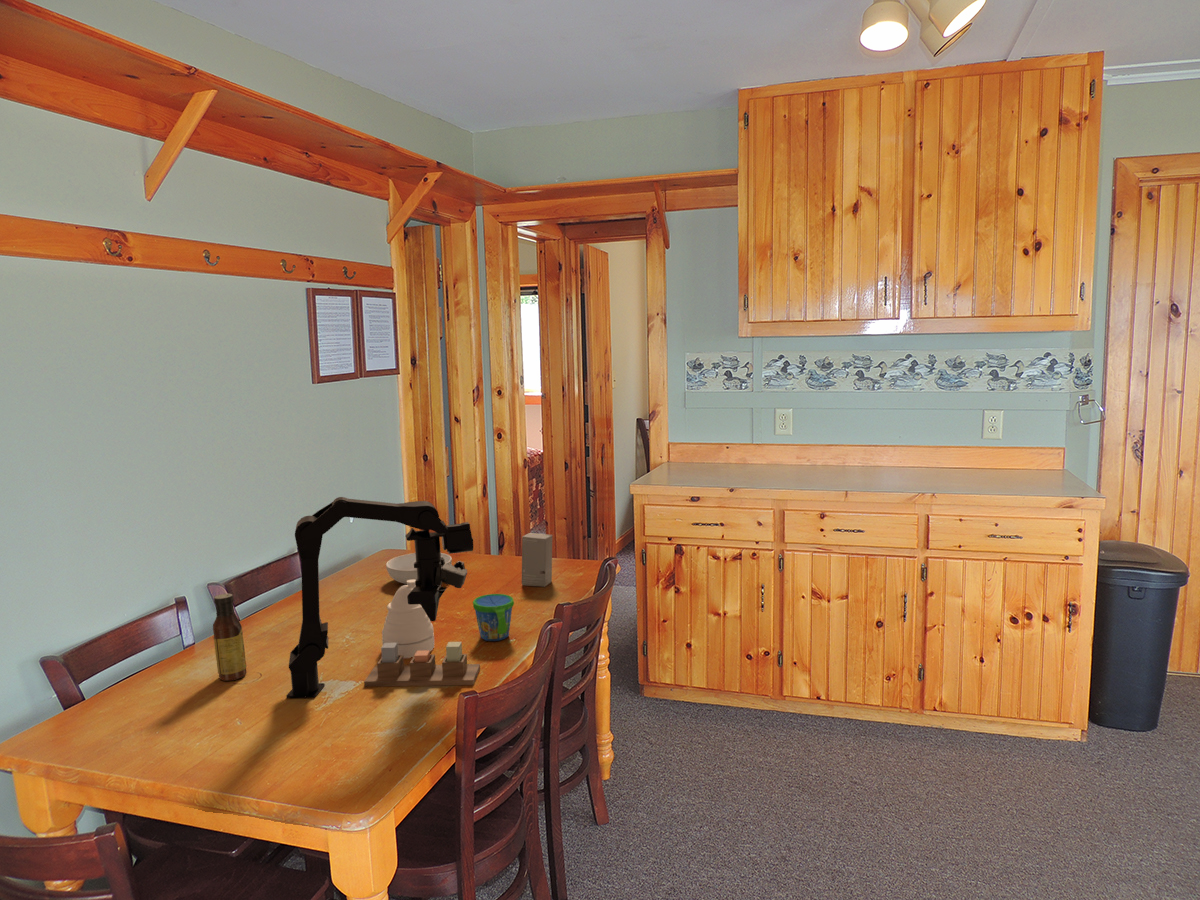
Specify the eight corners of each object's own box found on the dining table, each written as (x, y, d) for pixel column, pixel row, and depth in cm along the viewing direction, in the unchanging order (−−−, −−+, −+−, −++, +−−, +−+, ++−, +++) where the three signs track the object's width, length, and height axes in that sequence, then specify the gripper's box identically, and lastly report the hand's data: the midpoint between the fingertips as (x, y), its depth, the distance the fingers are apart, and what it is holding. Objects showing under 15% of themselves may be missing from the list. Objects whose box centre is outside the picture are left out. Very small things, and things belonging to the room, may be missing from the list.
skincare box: (521, 585, 257) (519, 537, 255) (529, 579, 264) (528, 531, 261) (546, 587, 254) (544, 538, 252) (554, 580, 261) (552, 532, 259)
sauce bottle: (252, 674, 193) (245, 594, 190) (229, 684, 188) (221, 601, 185) (235, 669, 197) (228, 590, 194) (211, 678, 191) (203, 597, 188)
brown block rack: (473, 685, 184) (472, 665, 184) (364, 686, 185) (363, 667, 184) (480, 668, 193) (479, 650, 193) (375, 670, 194) (374, 651, 193)
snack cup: (520, 644, 208) (519, 606, 206) (479, 650, 205) (477, 611, 203) (509, 624, 223) (507, 588, 221) (470, 629, 220) (468, 593, 218)
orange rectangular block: (428, 675, 188) (427, 655, 187) (415, 675, 188) (414, 655, 187) (431, 669, 191) (429, 650, 190) (418, 670, 191) (417, 650, 190)
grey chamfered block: (395, 667, 187) (394, 647, 187) (382, 667, 188) (381, 647, 187) (398, 662, 190) (397, 642, 190) (386, 662, 190) (384, 642, 190)
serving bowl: (385, 575, 272) (384, 555, 271) (448, 568, 278) (447, 549, 277) (388, 594, 252) (387, 572, 251) (456, 586, 258) (455, 565, 257)
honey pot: (443, 641, 212) (439, 574, 209) (419, 660, 199) (415, 589, 197) (399, 637, 215) (395, 571, 213) (373, 656, 203) (368, 586, 200)
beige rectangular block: (460, 666, 187) (459, 646, 186) (447, 666, 187) (446, 646, 186) (462, 661, 190) (461, 641, 189) (449, 661, 190) (448, 641, 189)
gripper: (454, 566, 178) (459, 634, 180) (470, 544, 197) (474, 606, 199) (404, 568, 179) (409, 636, 181) (425, 545, 197) (429, 607, 199)
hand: (433, 620), depth 190 cm, fingers closed
